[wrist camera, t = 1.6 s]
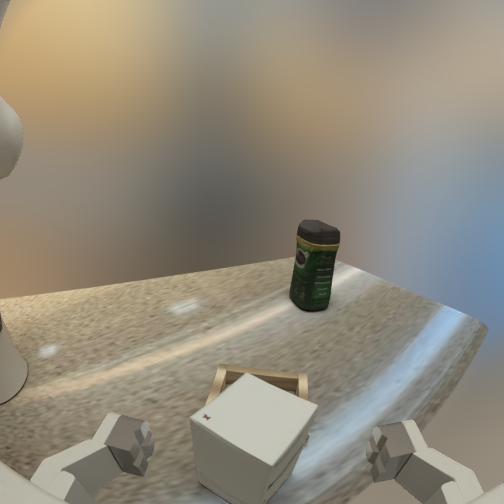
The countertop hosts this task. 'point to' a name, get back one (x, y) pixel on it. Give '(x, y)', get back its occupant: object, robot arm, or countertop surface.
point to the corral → (272, 377)
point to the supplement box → (249, 439)
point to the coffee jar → (314, 264)
